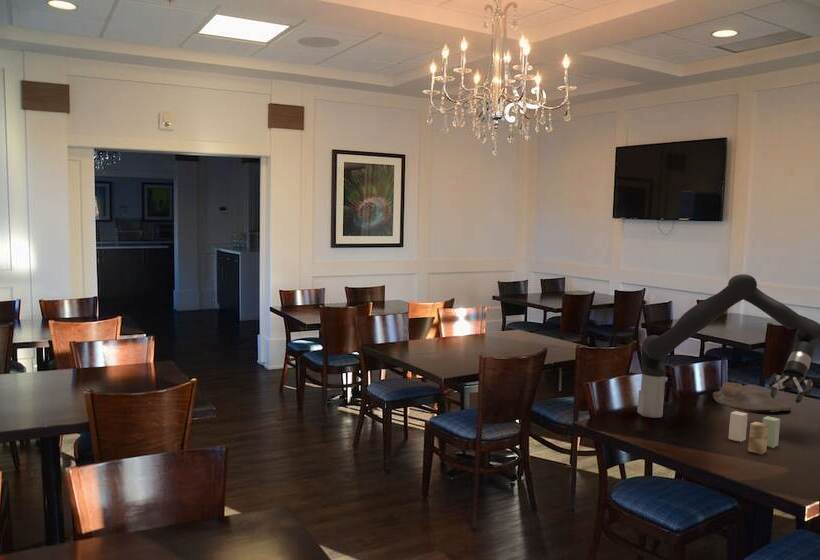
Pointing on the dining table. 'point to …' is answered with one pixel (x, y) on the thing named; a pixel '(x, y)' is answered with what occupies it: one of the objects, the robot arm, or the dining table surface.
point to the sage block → (772, 430)
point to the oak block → (758, 437)
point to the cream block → (738, 426)
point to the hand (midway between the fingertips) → (784, 399)
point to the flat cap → (747, 399)
